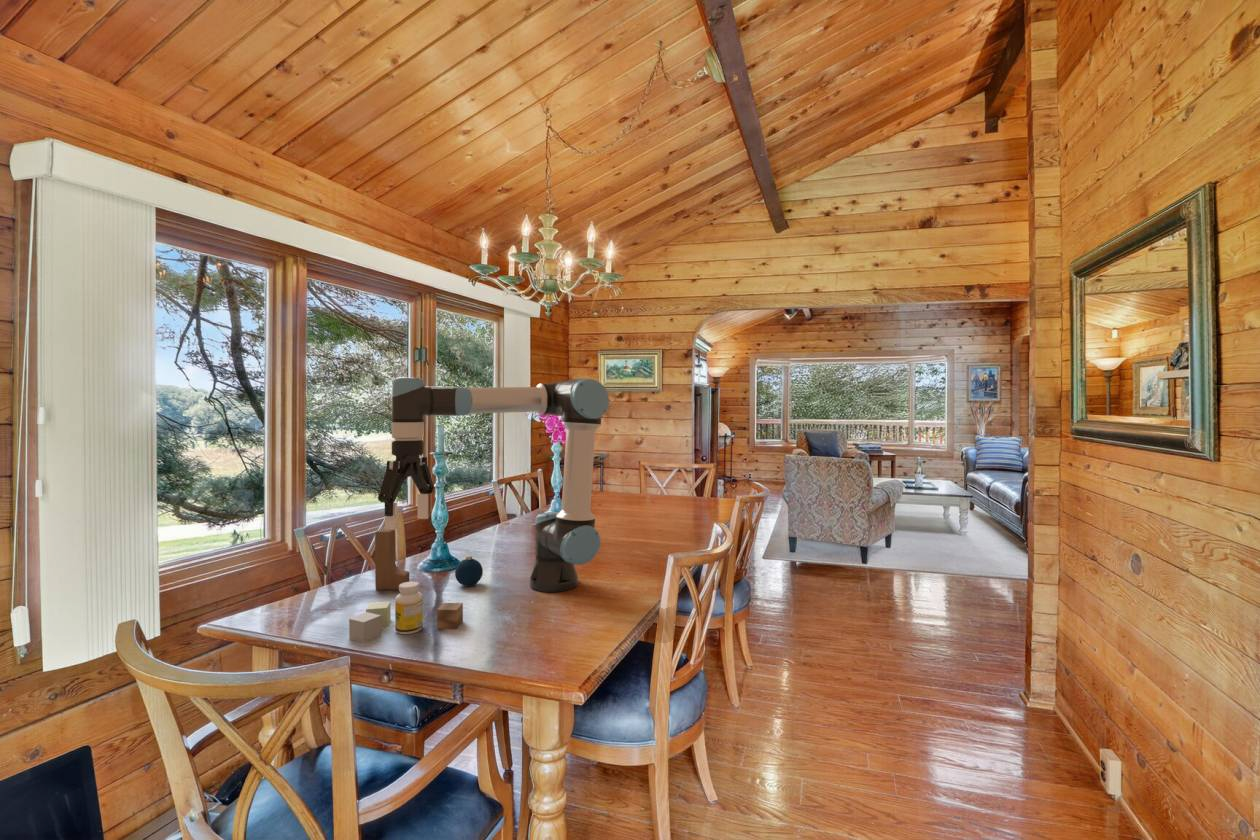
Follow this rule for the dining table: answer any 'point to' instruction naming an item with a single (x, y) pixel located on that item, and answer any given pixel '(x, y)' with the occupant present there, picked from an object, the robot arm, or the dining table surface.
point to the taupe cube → (365, 627)
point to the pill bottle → (408, 609)
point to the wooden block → (387, 562)
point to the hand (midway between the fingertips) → (407, 523)
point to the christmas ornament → (468, 571)
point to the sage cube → (381, 611)
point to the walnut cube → (449, 615)
